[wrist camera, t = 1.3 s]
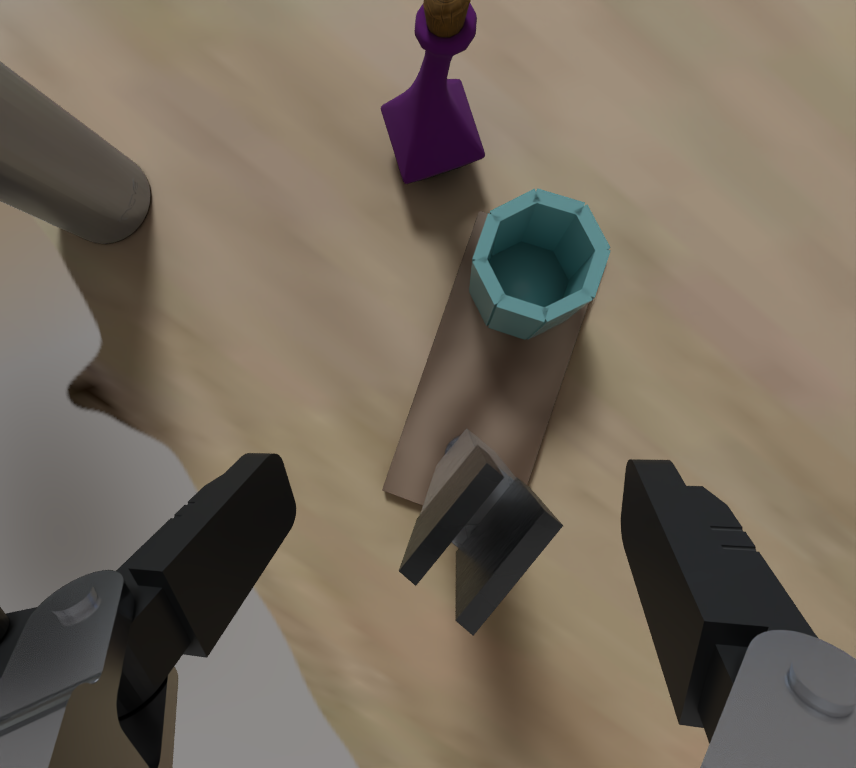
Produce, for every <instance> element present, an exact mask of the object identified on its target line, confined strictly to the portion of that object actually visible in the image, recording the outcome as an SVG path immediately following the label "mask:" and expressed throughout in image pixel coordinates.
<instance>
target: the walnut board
mask: <svg viewBox="0 0 856 768" xmlns="http://www.w3.org/2000/svg"><path fill="white" fill-rule="evenodd" d="M487 215H488V213H485V212H482V211H479V213H478V216H477V219H476V222H475V224H474V227H473V230H472V233H471V236H470V239H469V242H468V245H467V247H466V250H465V253H464V256H463V259H462V262H461V265H460V268H459V270H458V273H457V276H456V279H455V282H454V285H453V288H452V291H451V293H450V296H449V299H448V302H447V305H446V308H445V311H444V313H443V316H442V319H441V322H440V325H439V328H438V331H437V334H436V336H435V339H434V342H433V345H432V348H431V351H430V354H429V357H428V359H427V362H426V365H425V368H424V371H423V374H422V377H421V380H420V382H419V385H418V388H417V391H416V394H415V397H414V400H413V403H412V405H411V408H410V411H409V414H408V417H407V420H406V423H405V426H404V428H403V431H402V434H401V437H400V440H399V443H398V446H397V449H396V451H395V454H394V457H393V460H392V463H391V466H390V469H389V472H388V474H387V477H386V480H385V483H384V486H383V489H382V490H383V491H386V492H388V493H391V494H394V495H396V496H399V497H402V498H404V499H407V500H410V501H412V502H415V503H418V504H421V505H423V504H424V501H425V498H426V495H427V492H428V489H429V486H430V483H431V480H432V477H433V474H434V471H435V468H436V466H437V464H438V463H439V461H440V460H441V459H442V458H443V456H444V454H445V450H446V447H447V445H448V443H449V442H450V441H451V440H452V439H453V438H455V437H457V436H459V435H461V434H462V433H463V432H464V431H465V429H466V428H467V429H468V430H469V431H471V432H472V433H473V434H474V435H475V436H477V437H478V438H479V439H480V440H482V441H483V442H484V443H485V444H487V445H488V446H489V447H490V448H491V449H493V450H494V451H495V452H496V454H497V455H498V456H499V457H500V458H501V460H502V461H503V462H504V463H505V465H506V466H507V467H508V468H509V470H510V471H511V472H512V473H513V474H514V476H515V477H518V478H519V479H520V480H521V481H523V482H524V483H525V484H526V485H527V484H528V481H529V478H530V475H531V472H532V469H533V467H534V464H535V461H536V458H537V455H538V452H539V449H540V446H541V443H542V440H543V437H544V434H545V431H546V428H547V425H548V422H549V419H550V416H551V413H552V411H553V408H554V405H555V402H556V399H557V396H558V393H559V390H560V387H561V384H562V381H563V378H564V375H565V372H566V369H567V366H568V363H569V360H570V357H571V354H572V352H573V349H574V346H575V343H576V340H577V337H578V334H579V331H580V328H581V325H582V322H583V319H584V316H585V313H586V310H587V307H588V304H589V303H588V304H587V305H585V306H584V307H583V308H581V309H580V310H579V311H577V312H576V313H575V314H574V315H572V316H571V317H570V318H568V319H567V320H566V321H565V322H563V323H561V324H559V325H557V326H555V327H553V328H551V329H549V330H547V331H545V332H543V333H541V334H539V335H537V336H534V337H532V338H530V339H528V340H527V339H526V340H524V339H521V338H518V337H515V336H512V335H509V334H506V333H503V332H500V331H496V330H493V329H490V328H488V326H489V325H488V326H486V325H485V323H484V321H483V319H482V317H481V315H480V313H479V311H478V309H477V307H476V305H475V303H474V301H473V299H472V297H471V295H470V293H469V286H470V276H471V267H472V258H473V255H474V253H475V250H476V247H477V244H478V241H479V238H480V235H481V232H482V230H483V227H484V224H485V221H486V218H487Z"/></svg>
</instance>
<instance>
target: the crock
mask: <svg viewBox="0 0 856 768" xmlns="http://www.w3.org/2000/svg"><path fill="white" fill-rule="evenodd" d="M584 204H585V202H581V201H578V200H574V199H571V198H568V197H564V196H561V195H558V194H554V193H551V192H547V191H544V190H541V189H537V191H535V189H533V190H531V191H529V192H527V193H525V194H523V195H521V196H519V197H517V198H515V199H513V200H511V201H509V202H507V203H505V204H503V205H501V206H499V207H497V208H495V209H493V210H491V211H490V214H489V213H488V215H487V218H486V221H485V224H484V227H483V230H482V232H481V235H480V238H479V241H478V244H477V247H476V250H475V253H474V255H473V258H472V267H471V276H470V286H469V293H470V295H471V297H472V299H473V301H474V303H475V305H476V307H477V309H478V311H479V313H480V315H481V317H482V319H483V321H484V323H485V325H486V326H488V325H489V326H488V328H490V329H493V330H496V331H500V332H503V333H506V334H509V335H512V336H515V337H518V338H521V339H524V340H526V339H527V340H528V339H530V338H532V337H534V336H537V335H539V334H541V333H543V332H545V331H547V330H549V329H551V328H553V327H555V326H557V325H559V324H561V323H563V322H565V321H566V320H567V319H568V318H570V317H571V316H572V315H574V314H575V313H576V312H577V311H579V310H580V309H581V308H583V307H584V306H585V305H587V304H588V303H589V302H590V301H592V300H593V298H595V295H596V292H597V289H598V286H599V283H600V280H601V278H602V275H603V272H604V269H605V266H606V263H607V260H608V257H609V254H610V250H609V249H610V246H609V244H608V242H607V240H606V239H605V237H604V235H603V233H602V231H601V229H600V227H599V225H598V224H597V222H596V220H595V218H594V216H593V214H592V212H591V211H590V209H589V207H588V205H585V206H584Z"/></svg>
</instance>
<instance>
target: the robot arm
mask: <svg viewBox="0 0 856 768" xmlns="http://www.w3.org/2000/svg"><path fill="white" fill-rule="evenodd" d="M0 201H1V202H3V203H6V204H8V205H10V206H12V207H15V208H17V209H19V210H22V211H23V212H26V213H28V214H30V215H32V216H35V217H37V218H39V219H41V220H44V221H46V222H48V223H50V224H52V225H54V226H57V227H59V228H61V229H63V230H66V231H68V232H70V233H72V234H75V235H77V236H79V237H81V238H84V239H86V240H88V241H91V242H94V243H102V244H106V243H114V242H117V241H120V240H122V239H124V238H126V237H128V236H129V235H131V234H132V233H133V232H134V231H135V230H136V229H137V228H138V227H139V226H140V224H141V223H142V222H143V220H144V218H145V216H146V214H147V212H148V208H149V204H150V188H149V183H148V180H147V178H146V175H145V174H144V172H143V171H142V169H141V168H140V167H139V166H138V165H137V164H136V163H135V162H133V161H132V160H131V159H129V158H128V157H127V156H125V155H124V154H123V153H121V152H120V151H119V150H118V149H116V148H115V147H114V146H112V145H111V144H110V143H108V142H107V141H106V140H104V139H103V138H102V137H101V136H99V135H98V134H97V133H95V132H94V131H93V130H91V129H90V128H89V127H87V126H86V125H84V124H83V123H82V122H80V121H79V120H78V119H76V118H75V117H74V116H72V115H71V114H70V113H68V112H67V111H66V110H64V109H63V108H62V107H60V106H59V105H58V104H56V103H55V102H54V101H52V100H51V99H50V98H48V97H47V96H46V95H44V94H43V93H42V92H40V91H39V90H38V89H36V88H35V87H34V86H32V85H31V84H30V83H28V82H27V81H26V80H24V79H23V78H22V77H20V76H19V75H18V74H16V73H15V72H14V71H12V70H11V69H10V68H8V67H7V66H6V65H4V64H3V63H2V62H0ZM295 516H296V503H295V499H294V496H293V493H292V490H291V486H290V483H289V480H288V476H287V473H286V470H285V467H284V463H283V461H282V459H281V457H280V456H279V455H278V454H266V453H247V454H245V455H243V456H242V457H241V458H240V459H239V460H238V461H237V462H236V463H235V464H234V465H233V466H232V467H230V468H229V469H228V470H227V471H226V472H225V473H224V474H223V475H221V476H220V477H218V478H216V479H215V480H213V481H212V482H210V483H208V484H207V485H205V486H204V487H203V488H202V489H201V490H200V491H199V492H198V493H197V494H196V495H194V496H193V497H192V498H191V499H190V500H189V501H188V505H184V506H183V507H182V508H181V509H180V510H179V511H178V512H177V513H176V514H175V517H174V518H171V519H170V520H168V521H167V522H166V524H164V525H163V526H162V527H161V528H160V529H159V530H158V531H157V532H156V533H155V534H154V535H153V536H152V537H151V538H150V539H149V540H148V541H147V542H146V543H145V544H144V545H142V546H141V548H139V549H138V550H137V551H136V552H135V553H134V554H133V555H132V556H131V557H130V558H129V559H128V560H127V561H126V562H125V563H124V564H123V565H122V566H121V567H120V568H119V569H118V570H116V571H113V570H103V571H98V572H93V573H90V574H88V575H85V576H82V577H80V578H78V579H76V580H74V581H72V582H70V583H68V584H66V585H65V586H63V587H61V588H60V589H58V590H57V591H55V592H54V593H53V594H52V595H50V596H49V597H48V598H47V599H45V600H44V601H43V602H42V603H41V604H40V605H39V606H38V607H36V608H31V609H26V610H21V611H17V612H12V613H7V614H5V613H4V611H3V610H2V609H1V607H0V768H172V764H173V749H174V734H175V720H176V706H177V691H178V673H177V670H176V668H175V667H174V666H175V664H176V663H177V662H178V660H179V659H180V657H181V656H182V655H183V654H186V655H192V656H199V657H208V655H209V654H210V652H211V651H212V649H213V648H214V646H215V645H216V643H217V641H218V640H219V638H220V637H221V635H222V634H223V632H224V631H225V629H226V628H227V626H228V625H229V623H230V622H231V620H232V618H233V617H234V615H235V614H236V612H237V611H238V609H239V608H240V606H241V605H242V603H243V601H244V600H245V599H246V597H247V596H248V594H249V592H250V591H251V589H252V588H253V586H254V585H255V583H256V582H257V580H258V579H259V577H260V576H261V574H262V573H263V571H264V570H265V568H266V566H267V565H268V563H269V562H270V560H271V559H272V557H273V556H274V554H275V553H276V551H277V550H278V548H279V547H280V545H281V543H282V542H283V540H284V539H285V537H286V536H287V534H288V533H289V531H290V530H291V528H292V526H293V524H294V520H295ZM621 534H622V541H623V545H624V549H625V553H626V556H627V559H628V562H629V565H630V569H631V572H632V575H633V578H634V581H635V585H636V588H637V591H638V594H639V597H640V601H641V604H642V607H643V610H644V613H645V617H646V620H647V623H648V626H649V630H650V633H651V636H652V639H653V642H654V646H655V649H656V652H657V655H658V658H659V662H660V665H661V668H662V671H663V674H664V678H665V681H666V684H667V687H668V690H669V694H670V697H671V700H672V703H673V707H674V710H675V713H676V716H677V719H678V723H679V725H686V726H693V727H701V728H704V730H705V732H706V735H707V738H708V741H709V744H710V745H709V747H708V750H707V752H706V755H705V757H704V760H703V762H702V765H701V767H700V768H856V659H855V658H853V657H852V656H850V655H849V654H847V653H846V652H844V651H842V650H841V649H839V648H837V647H835V646H833V645H832V644H830V643H827V642H825V641H823V640H821V639H819V638H818V637H817V636H816V635H815V633H814V632H813V630H812V629H811V627H810V626H809V624H808V623H807V622H806V620H805V619H804V617H803V616H802V614H801V613H800V611H799V610H798V608H797V607H796V605H795V604H794V602H793V601H792V600H791V598H790V597H789V595H788V594H787V592H786V591H785V589H784V588H783V586H782V585H781V583H780V582H779V580H778V579H777V578H776V576H775V575H774V573H773V572H772V570H771V569H770V567H769V566H768V564H767V563H766V561H765V560H764V558H763V557H762V555H761V554H760V553H759V552H756V549H755V545H754V544H753V542H752V541H751V539H750V538H749V536H748V535H747V533H746V532H743V530H742V526H741V525H740V523H739V522H738V520H737V519H736V517H735V516H734V514H733V513H732V511H731V510H730V508H729V507H728V506H727V505H726V504H725V503H724V502H722V501H721V500H720V499H719V498H717V497H716V496H715V495H713V494H712V493H711V492H709V491H708V490H707V489H705V488H704V487H703V486H686V485H685V483H684V481H683V480H682V478H681V476H680V474H679V473H678V471H677V469H676V468H675V466H674V464H673V463H672V462H671V461H670V460H628V462H627V466H626V473H625V482H624V492H623V502H622V511H621Z"/></svg>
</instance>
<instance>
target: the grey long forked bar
mask: <svg viewBox="0 0 856 768" xmlns="http://www.w3.org/2000/svg"><path fill="white" fill-rule="evenodd" d="M562 526H563V525H562V524H561V522H560V521H559V520H558V519H557V518H556V517H555V516H554V515H553V513H552V512H551V511H550V510H549V509H548V508H547V507H546V505H545V504H544V503H543V502H542V501H541V500H540V499H539V497H538V496H537V495H536V494H535V493H534V492H533V491H532V490H531V488H530V487H529V486H527V485H526V484H525V483H524V482H523V481H521V480H520V479H519V478H518V477H515V476H514V474H513V473H512V472H511V471H510V470H509V468H508V467H507V466H506V465H505V463H504V462H503V461H502V460H501V458H500V457H499V456H498V455H497V454H496V452H495V451H494V450H493V449H491V448H490V447H489V446H488V445H487V444H485V443H484V442H483V441H482V440H480V439H479V438H478V437H477V436H475V435H474V434H473V433H472V432H471V431H469V430H468V429H467V428H466V429H465V431H464V432H463V433H462V434H461V435H459V436H457V437H455V438H453V439H452V440H451V441H450V442H449V443H448V445H447V447H446V450H445V454H444V456H443V458H442V459H441V460H440V461H439V463H438V464H437V466H436V468H435V471H434V474H433V477H432V480H431V483H430V486H429V489H428V492H427V495H426V498H425V501H424V504H423V507H422V510H421V513H420V516H419V517H418V518H417V520H416V523H415V526H414V529H413V532H412V534H411V537H410V540H409V543H408V546H407V549H406V552H405V554H404V557H403V560H402V563H401V566H400V569H399V572H400V573H402V574H403V575H404V576H405V577H406V578H407V579H408V580H410V581H411V582H412V583H413V584H414V585H415V586H416V585H417V584H418V583H419V581H420V580H421V579H422V578H423V576H424V575H425V574H426V573H427V572H428V570H429V569H430V568H431V567H432V565H433V564H434V563H435V562H436V561H437V559H438V558H439V557H440V556H441V554H442V553H443V552H444V551H445V549H446V548H447V547H448V546H449V545H450V543H451V542H452V543H453V544H454V545H455V546H457V547H458V548H459V549H458V550H457V551H456V621H457V622H458V623H459V624H460V625H461V626H462V627H464V628H465V629H466V630H467V631H468V632H469V633H470V634H472V635H474V634H475V633H476V632H477V631H478V629H479V628H480V627H481V626H482V624H483V623H484V622H485V621H486V620H487V618H488V617H489V616H490V615H491V613H492V612H493V611H494V610H495V608H496V607H497V606H498V605H499V604H500V602H501V601H502V600H503V599H504V597H505V596H506V595H507V594H508V593H509V591H510V590H511V589H512V588H513V586H514V585H515V584H516V583H517V582H518V580H519V579H520V578H521V577H522V575H523V574H524V573H525V572H526V571H527V569H528V568H529V567H530V566H531V564H532V563H533V562H534V561H535V560H536V558H537V557H538V556H539V555H540V553H541V552H542V551H543V550H544V548H545V547H546V546H547V545H548V544H549V542H550V541H551V540H552V539H553V537H554V536H555V535H556V534H557V533H558V531H559V530H560V529H561V528H562Z"/></svg>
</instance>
